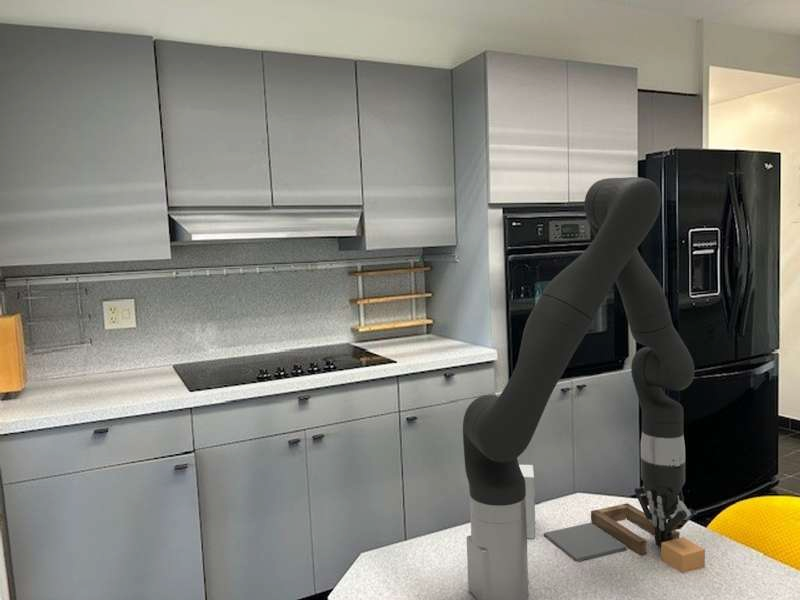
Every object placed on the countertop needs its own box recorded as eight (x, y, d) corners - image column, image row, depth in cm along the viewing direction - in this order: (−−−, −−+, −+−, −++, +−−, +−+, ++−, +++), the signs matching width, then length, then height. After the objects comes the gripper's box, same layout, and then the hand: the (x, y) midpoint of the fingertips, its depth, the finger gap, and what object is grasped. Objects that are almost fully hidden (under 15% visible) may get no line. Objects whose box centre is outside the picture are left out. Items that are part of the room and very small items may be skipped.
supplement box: (535, 539, 121) (534, 477, 120) (498, 537, 122) (496, 476, 121) (535, 522, 128) (533, 464, 127) (499, 520, 129) (497, 463, 128)
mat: (576, 561, 111) (576, 558, 111) (543, 535, 122) (543, 532, 122) (626, 549, 115) (626, 546, 115) (590, 525, 125) (590, 522, 125)
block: (682, 574, 106) (682, 555, 106) (661, 560, 111) (661, 542, 111) (704, 568, 108) (704, 549, 108) (683, 555, 113) (683, 537, 112)
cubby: (639, 555, 113) (639, 542, 113) (591, 522, 127) (590, 511, 126) (679, 545, 116) (679, 532, 116) (627, 514, 130) (627, 503, 129)
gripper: (621, 448, 117) (622, 535, 118) (673, 471, 104) (673, 568, 106) (653, 442, 119) (653, 528, 121) (707, 464, 107) (707, 559, 108)
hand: (663, 546), depth 113 cm, fingers closed
